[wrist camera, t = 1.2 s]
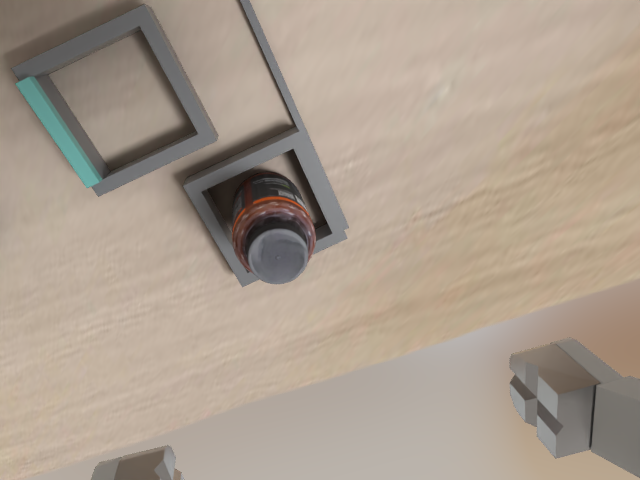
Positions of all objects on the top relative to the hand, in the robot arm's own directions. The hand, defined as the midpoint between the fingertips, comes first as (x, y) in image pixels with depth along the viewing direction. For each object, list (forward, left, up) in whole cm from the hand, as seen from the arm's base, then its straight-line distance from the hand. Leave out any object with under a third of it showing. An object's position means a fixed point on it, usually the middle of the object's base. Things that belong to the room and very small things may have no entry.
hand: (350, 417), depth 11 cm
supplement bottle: (+2, +4, -31) cm, 31 cm away
